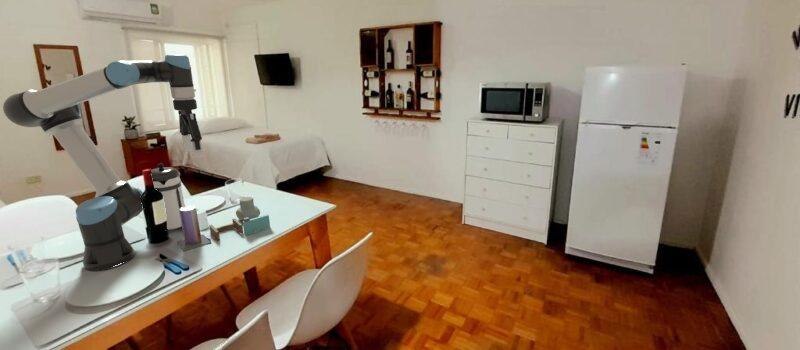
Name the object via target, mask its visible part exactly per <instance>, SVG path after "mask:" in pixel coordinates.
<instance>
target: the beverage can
mask: <svg viewBox="0 0 800 350" xmlns="http://www.w3.org/2000/svg"><path fill="white" fill-rule="evenodd" d="M179 210H180V211H179V213H180V218H181V224H182V228H181V229H182V232H183V233H182V235H183V240H185V243H186V244H187V245H194V244H197V243H199V242H200V241H201V235H202V233H201V228H200V227H201V226H200V223H199V215H198V211H197V208H196V206H195V205H191V204H190V205H185V206H184V207H182V208H180V209H179Z"/></svg>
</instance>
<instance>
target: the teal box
mask: <svg viewBox="0 0 800 350" xmlns="http://www.w3.org/2000/svg"><path fill="white" fill-rule="evenodd" d="M243 220H244V221H242V227H243V234H244V235H245V236H247V235H250V234H254V233H257V232H259V231H264V230H267V229H270V228H271V222H270V215H269V214H264V215H261V216H260V215H259V216H258V217H257V218H253V219H250V218H249V217H246V218H243Z"/></svg>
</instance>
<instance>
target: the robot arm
mask: <svg viewBox="0 0 800 350" xmlns="http://www.w3.org/2000/svg"><path fill="white" fill-rule="evenodd" d="M151 83H169V89H170V94H171V98H172V99H173V100H172V105H173V106H172V107H173V110H175V111H177V114H178V120H179V121H178V122H179V134H180V135H181V138H182V143H183V148H184V149H183V151H184V153H190V152H193V156H194V160H195V159H203V158H204V156H203V151H202V150H203V148H202V144H201V143H202V141H201V140H203V137H202V134H201V131H200V127H199V124H198V121H197V116H196V113H195V112H194V113H193V112H192V111H193V110H197V109H198V103H197V100H196V99H195V97H196V94H195V92H197V89H196V88H195V87H194V81H193V74H192V67H191V62H190V58H189V56H187V55H186V54H165V55H164V60H142V59H141V60H140V59H139V60H124V59H121V60H114V61H111V62H110V63H108V64H107V66H105V67H101V68H99V69H97V70H96V69H95V70H93V71H91V72H88V73H84V74H82V75H78V76H76V77H73V78H70V79H68V80H64V81H62V82H59V83H56V84H54V85H51V86H47V87H45V88H43V89H39V90H35V89H29V90H25V91H22V92H19V93H14V94H11V95H10V96H8V97H7V98H6V99H5V101H4V102H3V105H2V109H3V113H4V116H6V118H7V119H8V120H9V121H10V122H12V123H13V124H15V125H18V126H20V127H25V128H37V127H40V128H41V130H43V132H44V133H45V134H48V135H52V136H53V137H55V139H56V140H57V141H58V143H59V144H60V145H61V147H62V148H63V149H64V151H65V152H66V153H67V155H68V156H69V157H70V159H71V160H72V161H73V163H74V164H75V165H76V167H77V168H78V169H79V170H80V172H81V173H82V174H83V177H85V179H86V180H87V181H88V183H90V185H91V186H92V188H93V189H94V190H95V194H94V195H95V196H94V197H93V198H90V199H87V200H85V201H83V202H81V203H80V204H78V205H77V207H76V208H75V215H76V217H75V218H76V219H75V220H76V221H77V224H78V228H79V231H80V234H81V237H82V240H83V244H84V252H83V258H82V264H83V268H84V270H87V271H92V272H97V271H106V270H109V269H108V268H110V269H112V268H111V267H113V266H115V265H118V264H120V263H123V262H126V261H128V262H130V261H131V260H132V259H133V258H134V257H135V251H134V250H135V249H134V247H133V245H132V244H131V243H130V242H129V241H128V239H127V238H126V237H125V234H124V230H123V229H124V228H123V225H124V224H126V223H128V222H130V220H132V219H134V218H136V217H137V216H139V215H140V214H141V213H142V212H143V211H144V210H143V208H142V204H141V202H140V196H141V195H142V194H143V193H144V192H143V191H142V190H141V189H140V188H139V187H138V188H137V187H135V186H131V184H130V183H129V182H128V181H126V180H122V179H120V177H119V176H118V174H117V173H116V172H115V170H114V169H113V167H112V166H111V165H110V163H109V161H108V160H107V158H105V157H104V155H103V154H102V153H101V151H100V149H98V147H97V146H96V145H95V143H94V141H93V140H92V139H91V137H90V136H89V135H88V133H87V132H86V131H85V129H84V127H83V126H82V122H83V118H82V117H81V116H80V115H81V105H80V104H81V103H85V102H87V101H90V100H93V99H95V98H98V97H101V96H105V95H107V94H110V93H113V92H116V91H118V90H120V89H124V88H128V87H131V86H134V85H139V84H151ZM126 263H127V262H126ZM105 269H106V270H105Z"/></svg>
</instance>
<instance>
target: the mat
mask: <svg viewBox="0 0 800 350" xmlns="http://www.w3.org/2000/svg"><path fill="white" fill-rule="evenodd" d="M176 243H177V245H178V246H179V248H180V249H181V250H182V251H183V252H186V251H189V250H193V249H197V248H199V247H203V246H206V245H208V244H209V245H210V244H212V241H210V240H209V239H208V238H207V237H206V235H205V234H202V233H201V241H200V242H199V243H197V244H194V245H187V244H186V243H185V240H184V239H181V240H178V241H176Z"/></svg>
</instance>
